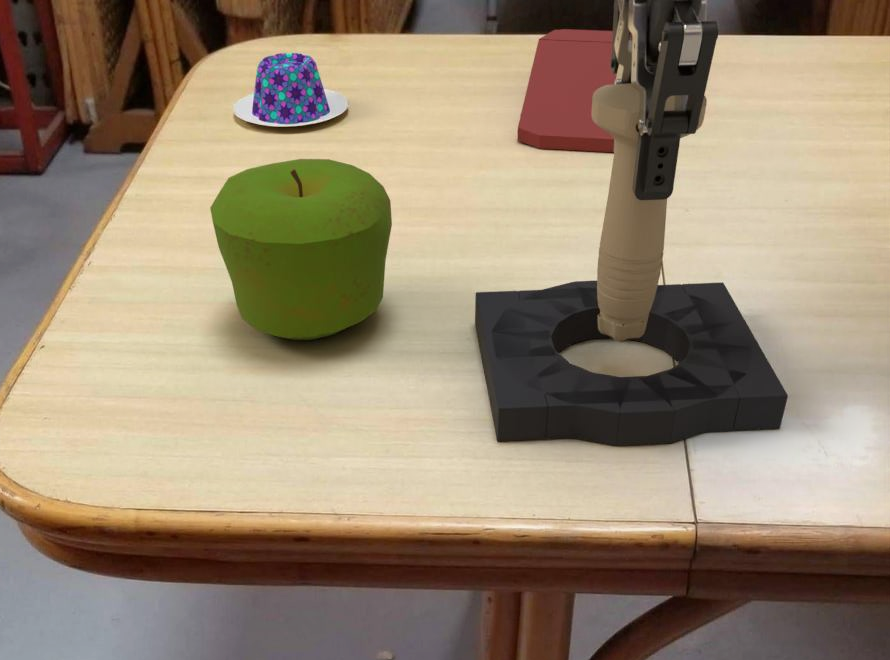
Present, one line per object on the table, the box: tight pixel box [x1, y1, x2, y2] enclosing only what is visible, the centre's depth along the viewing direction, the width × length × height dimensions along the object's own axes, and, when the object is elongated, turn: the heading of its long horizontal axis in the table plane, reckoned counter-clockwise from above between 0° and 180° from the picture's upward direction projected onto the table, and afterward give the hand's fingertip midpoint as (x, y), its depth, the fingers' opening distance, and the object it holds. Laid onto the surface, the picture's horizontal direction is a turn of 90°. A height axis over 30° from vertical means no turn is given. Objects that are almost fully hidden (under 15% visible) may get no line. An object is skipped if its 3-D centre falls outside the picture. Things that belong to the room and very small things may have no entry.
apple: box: [209, 158, 393, 341], centre depth 75 cm, size 12×12×11 cm
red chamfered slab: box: [517, 28, 632, 153], centre depth 112 cm, size 12×5×25 cm
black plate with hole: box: [474, 280, 789, 447], centre depth 72 cm, size 18×17×2 cm
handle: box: [592, 83, 708, 342], centre depth 66 cm, size 5×6×15 cm
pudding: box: [232, 52, 349, 128], centre depth 110 cm, size 12×12×5 cm
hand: (641, 176), depth 64 cm, fingers closed on handle, 5 cm apart
